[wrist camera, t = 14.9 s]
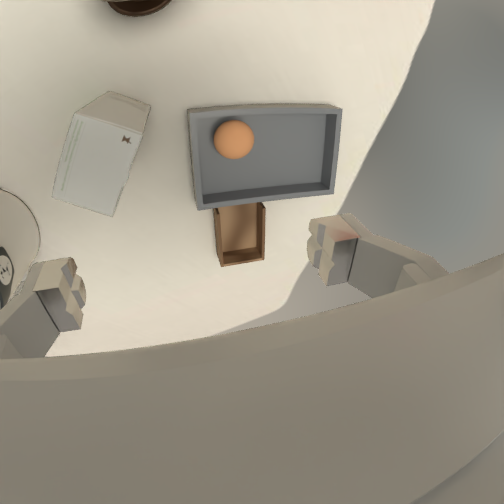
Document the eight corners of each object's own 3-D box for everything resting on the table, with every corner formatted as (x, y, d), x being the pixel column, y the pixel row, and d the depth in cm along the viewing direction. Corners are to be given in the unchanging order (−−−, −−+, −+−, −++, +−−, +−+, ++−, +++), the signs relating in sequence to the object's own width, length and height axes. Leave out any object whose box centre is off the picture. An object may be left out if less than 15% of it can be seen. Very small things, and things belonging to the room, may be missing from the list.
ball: (209, 116, 33) (210, 136, 38) (218, 152, 32) (218, 169, 37) (250, 109, 33) (246, 129, 38) (261, 143, 33) (256, 161, 38)
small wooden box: (217, 253, 48) (221, 266, 46) (212, 203, 43) (217, 214, 40) (257, 246, 50) (264, 259, 47) (258, 197, 45) (265, 208, 42)
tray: (195, 199, 42) (197, 210, 39) (187, 109, 34) (189, 113, 32) (323, 184, 46) (333, 194, 43) (329, 104, 39) (342, 108, 36)
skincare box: (108, 89, 30) (73, 105, 18) (155, 106, 33) (147, 131, 21) (86, 149, 33) (47, 198, 21) (130, 164, 36) (113, 220, 24)
